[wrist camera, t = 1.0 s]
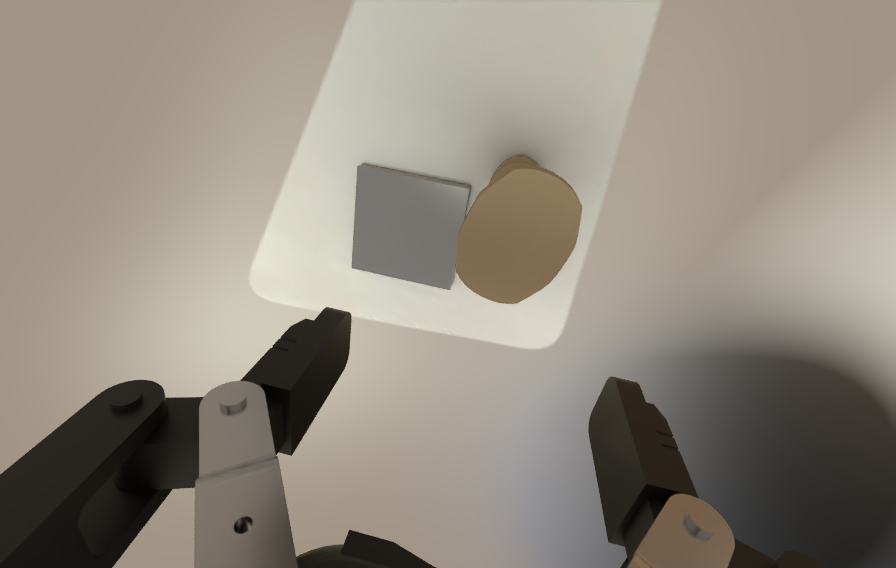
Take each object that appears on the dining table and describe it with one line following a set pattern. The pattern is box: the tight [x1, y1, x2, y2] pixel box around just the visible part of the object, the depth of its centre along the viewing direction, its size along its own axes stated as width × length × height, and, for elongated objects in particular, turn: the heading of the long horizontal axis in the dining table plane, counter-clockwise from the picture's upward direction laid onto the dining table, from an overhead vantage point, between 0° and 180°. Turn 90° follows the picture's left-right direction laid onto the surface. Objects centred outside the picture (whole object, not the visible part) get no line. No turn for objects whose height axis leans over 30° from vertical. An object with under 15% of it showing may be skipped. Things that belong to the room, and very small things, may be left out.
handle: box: [456, 155, 582, 304], centre depth 25 cm, size 5×6×15 cm
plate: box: [352, 164, 471, 290], centre depth 34 cm, size 9×9×1 cm
